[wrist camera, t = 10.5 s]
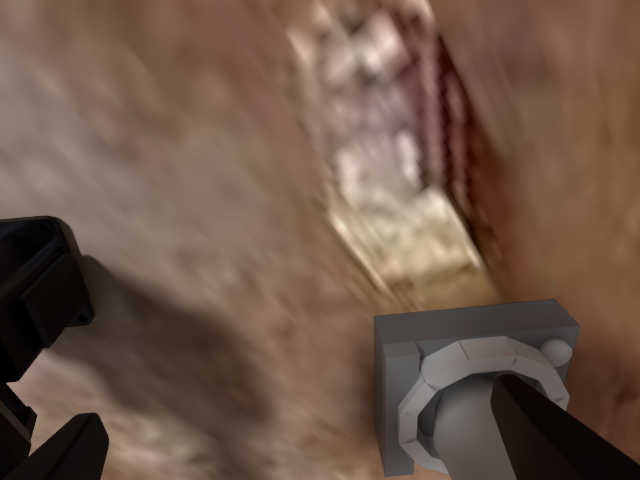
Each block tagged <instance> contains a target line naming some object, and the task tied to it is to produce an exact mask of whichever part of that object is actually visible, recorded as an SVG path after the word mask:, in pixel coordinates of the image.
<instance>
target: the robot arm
mask: <svg viewBox="0 0 640 480" xmlns="http://www.w3.org/2000/svg"><path fill="white" fill-rule="evenodd" d="M44 224H47V225H49V226H50V229H47V228H46V227H45V226H44ZM88 297H89V293H88V290H87V288H86V285H85V283H84V280H83V278H82V275H81V272H80V270H79V267H78V265H77V262H76V260H75V257H74V256H73V255H72V254H71V252H70V249H69V247H68V244H67V242H66V239H65V237H64V234H63V232H62V229H61V227H60V224H59V222H58V221H57V220H56V219H55V218H53V217H51V216H35V217H23V218H12V219H0V480H100V479H101V475H102V471H103V467H104V463H105V459H106V455H107V451H108V447H109V437H108V434H107V432H106V430H105V427H104V425H103V423H102V421H101V419H100V416H99V415H98V414H97V413H94V412H93V413H83V414H78V415H76V416H74V417H73V418H72V419H71V420H70V421H68V422H67V423H66V424H65V425H64V426H63V427H62V428H61V429H59V430H58V431H57V432H56V433H55V434H54V435H53V436H51V437H50V438H49V439H48V440H47V441H46V442H45V443H44V444H42V445H41V446H40V447H39V448H38V449H37V450H36V451H35V452H33V453H32V454H31V455H30V456H29V452H30V449H31V437H32V433H33V429H34V426H35V422H36V418H37V414H36V413H35V412H34V411H33V409H32V408H31V407H30V406H27V407H26V406H25V404H24V403H23V402H22V401H21V400H20V399H19V398H18V396H17V395H16V394H15V393H14V392H13V391H12V389H11V388H10V387H9V386H8V385H7V384H6V383H8V382H16V381H19V380H20V379H21V377H22V376H23V375H24V373H25V372H26V371H27V369H28V368H29V367H30V366H31V364H32V363H33V362H34V360H35V359H36V358H37V356H38V355H39V354H40V353H41V351H42V350H43V349H46V348H50V347H51V346H52V345H53V343H54V342H55V341H56V339H57V338H58V337H59V335H60V334H61V333H62V331H63V330H64V329H65V327H73V326H84V325H88V324H90V323H91V322H92V320H93V319H94V317H95V313H94V310H93V308H92V305H91V303H90V300H89V298H88ZM81 314H82V315H85V316H86V317H83V316H82V315H81ZM490 404H491V409H492V413H493V415H494V418H495V421H496V424H497V427H498V429H499V432H500V435H501V438H502V441H503V444H504V446H505V449H506V452H507V455H508V458H509V460H510V463H511V466H512V469H513V471H514V474H515V476H516V479H517V480H640V465H639V464H638V463H637V462H635V461H634V460H632V459H631V458H630V457H628V456H627V455H626V454H624V453H623V452H621V451H620V450H619V449H617V448H616V447H615V446H613V445H612V444H610V443H609V442H608V441H606V440H605V439H604V438H602V437H601V436H599V435H598V434H597V433H595V432H594V431H593V430H591V429H590V428H588V427H587V426H586V425H584V424H583V423H582V422H580V421H579V420H577V419H576V418H575V417H573V416H572V415H571V414H569V413H568V412H566V411H565V410H564V409H562V408H561V407H560V406H558V405H557V404H555V403H554V402H553V401H551V400H550V399H549V398H547V397H546V396H544V395H543V394H542V393H540V392H539V391H538V390H536V389H535V388H533V387H532V386H531V385H529V384H528V383H527V382H525V381H524V380H522V379H521V378H520V377H518V376H517V375H515V374H501V375H496V376H495V378H494V382H493V388H492V393H491V399H490ZM28 456H29V457H28Z"/></svg>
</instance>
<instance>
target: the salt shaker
mask: <svg viewBox="0 0 640 480" xmlns="http://www.w3.org/2000/svg"><path fill="white" fill-rule="evenodd" d="M493 382H494V379H491V378H487V377H484V376H480V375H477V374H471V375H469V376H466V377H464V378H462V379H460V380H458V381H456V382H454V383H452V384H450V385H448V386H446V387H444V388H443V391H442V393H441V395H440V398H439V400H438V402H437V405H436V407H435V418H434V431H433V442H434V447H435V449H436V451H437V453H438V455H439V456H440V458H441V460H442V462H443V464H444V465H445V467H446V469H447V471H448V473H449V475H450V476H451V478H452V480H517V479H516V476H515V474H514V471H513V469H512V466H511V463H510V460H509V458H508V455H507V452H506V449H505V446H504V444H503V441H502V438H501V435H500V432H499V429H498V427H497V424H496V421H495V418H494V415H493V413H492V409H491V404H490V399H491V393H492V388H493Z"/></svg>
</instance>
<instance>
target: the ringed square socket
mask: <svg viewBox="0 0 640 480" xmlns="http://www.w3.org/2000/svg"><path fill="white" fill-rule="evenodd" d="M579 328H580V325H579V324H578V323H577V322H576V321H575V320H574V319H573V318H572V317H571V316H570V315H569V314H568V313H567V312H566V311H565V310H564V309H563V307H562V306H561V305H560V304H559V303H558V302H557V301H556V300H555V299H552V300H541V301H530V302H520V303H509V304H499V305H488V306H478V307H467V308H457V309H446V310H436V311H425V312H415V313H404V314H393V315H383V316H374V375H375V432H376V436H377V441H378V446H379V451H380V455H381V460H382V465H383V470H384V474H385V477H390V476H400V475H409V474H413V469H414V461H415V462H416V463H417V464H418V465H419V466H420V467H424V468H427V469H431V470H435V471H438V472H442V473H446V474H449V473H448V471H447V469H446V467H445V465H444V464H443V462H442V460H441V458H440V456H439V455H438V453H437V451H436V449H435V447H434V442H433V431H434V418H435V407H436V405H437V402H438V400H439V398H440V395H441V393H442V391H443V388H444V387H446V386H448V385H450V384H452V383H454V382H456V381H458V380H460V379H462V378H464V377H466V376H469V375H471V374H477V375H480V376H484V377H487V378H491V379H494V378H495V376H496V375H501V374H515V375H517V376H518V377H520V378H521V379H522V380H524V381H525V382H527V383H528V384H529V385H531V386H532V387H533V388H535V389H536V390H538V391H539V392H540V393H542V394H543V395H544V396H546V397H547V398H549V399H550V400H551V401H553V402H554V403H555V404H557V405H558V406H560V407H561V408H562V409H564V410H565V411H566V408H567V405H568V401H569V398H570V396H569V394H568V392H567V390H566V388H565V386H564V382H565V378H566V375H567V371H568V368H569V364H570V360H571V357H572V353H573V350H574V346H575V342H576V339H577V335H578V332H579Z"/></svg>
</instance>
